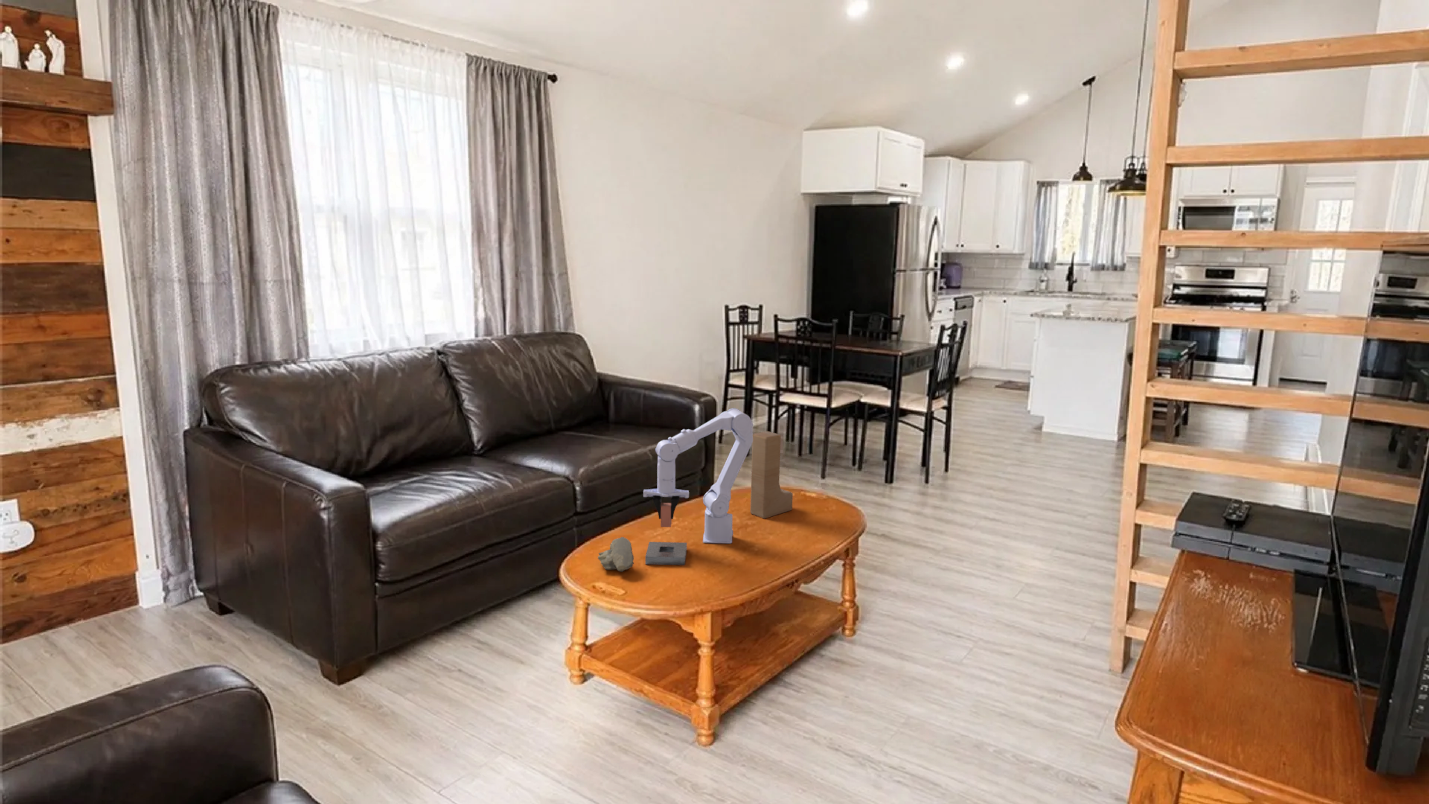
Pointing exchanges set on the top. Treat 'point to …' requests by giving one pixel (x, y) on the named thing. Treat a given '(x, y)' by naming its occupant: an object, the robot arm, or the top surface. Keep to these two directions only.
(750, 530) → the top surface
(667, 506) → the reddish brown rectangular block
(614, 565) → the fossil
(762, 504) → the decorative block
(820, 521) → the top surface
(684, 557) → the gray slotted base
